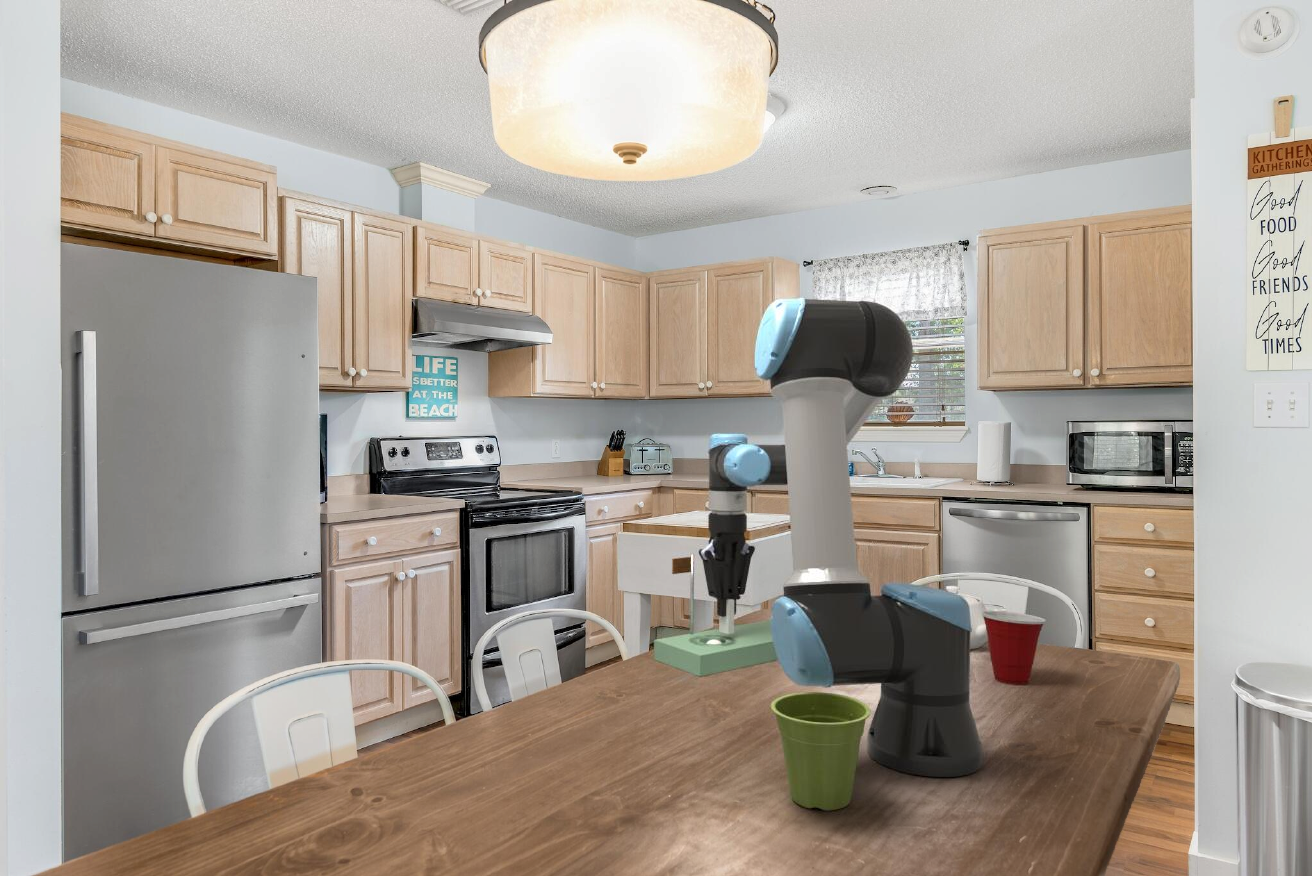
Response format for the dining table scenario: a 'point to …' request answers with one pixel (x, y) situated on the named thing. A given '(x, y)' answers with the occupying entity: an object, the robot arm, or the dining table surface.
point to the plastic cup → (1012, 644)
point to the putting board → (718, 649)
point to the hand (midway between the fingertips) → (726, 632)
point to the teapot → (975, 618)
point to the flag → (688, 566)
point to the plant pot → (820, 746)
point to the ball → (713, 642)
